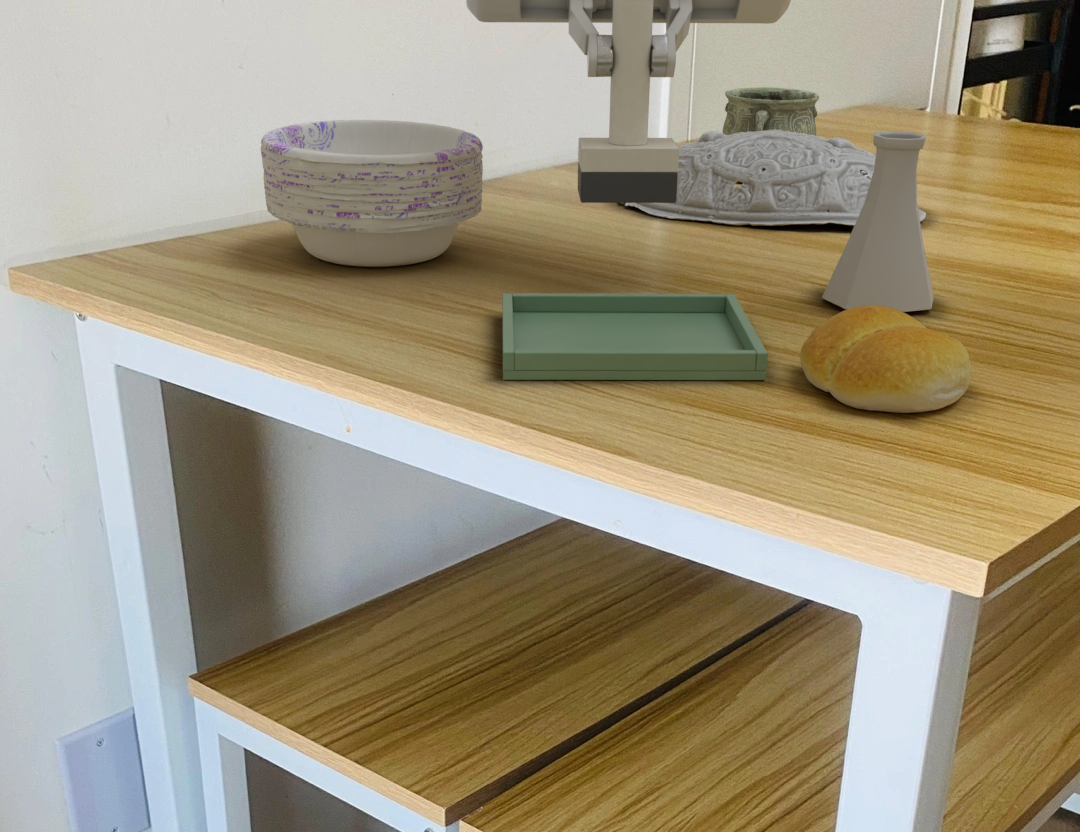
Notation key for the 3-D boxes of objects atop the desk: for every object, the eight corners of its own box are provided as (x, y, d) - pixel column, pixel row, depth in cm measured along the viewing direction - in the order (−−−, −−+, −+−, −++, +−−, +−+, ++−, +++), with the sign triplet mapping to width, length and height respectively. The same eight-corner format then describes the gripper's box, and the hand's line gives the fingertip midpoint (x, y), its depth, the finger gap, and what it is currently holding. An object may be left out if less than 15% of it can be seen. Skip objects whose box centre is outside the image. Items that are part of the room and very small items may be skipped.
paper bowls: (502, 274, 93) (501, 149, 89) (276, 284, 90) (264, 155, 86) (464, 226, 106) (462, 115, 102) (265, 233, 103) (254, 119, 99)
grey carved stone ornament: (920, 230, 103) (930, 133, 100) (598, 224, 110) (599, 133, 107) (930, 212, 116) (939, 126, 113) (643, 208, 123) (645, 127, 120)
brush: (669, 190, 89) (681, -38, 82) (676, 202, 86) (689, -34, 79) (577, 190, 89) (581, -39, 82) (580, 203, 85) (585, -35, 79)
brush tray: (732, 318, 84) (734, 293, 84) (765, 380, 74) (768, 352, 73) (502, 317, 84) (502, 293, 83) (503, 380, 74) (502, 352, 73)
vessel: (732, 152, 136) (738, 82, 132) (822, 158, 133) (830, 87, 130) (706, 173, 126) (711, 98, 123) (802, 179, 124) (810, 104, 120)
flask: (833, 317, 85) (854, 144, 80) (810, 287, 91) (827, 125, 86) (949, 317, 85) (977, 145, 80) (917, 287, 91) (942, 126, 86)
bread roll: (870, 426, 68) (882, 346, 66) (775, 374, 75) (782, 300, 73) (1004, 406, 71) (1019, 328, 69) (900, 357, 78) (911, 286, 76)
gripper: (458, -164, 83) (458, 32, 79) (795, -162, 83) (808, 33, 80) (461, -81, 89) (461, 105, 86) (775, -79, 89) (787, 105, 86)
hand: (632, 70), depth 83 cm, fingers closed on brush, 2 cm apart
